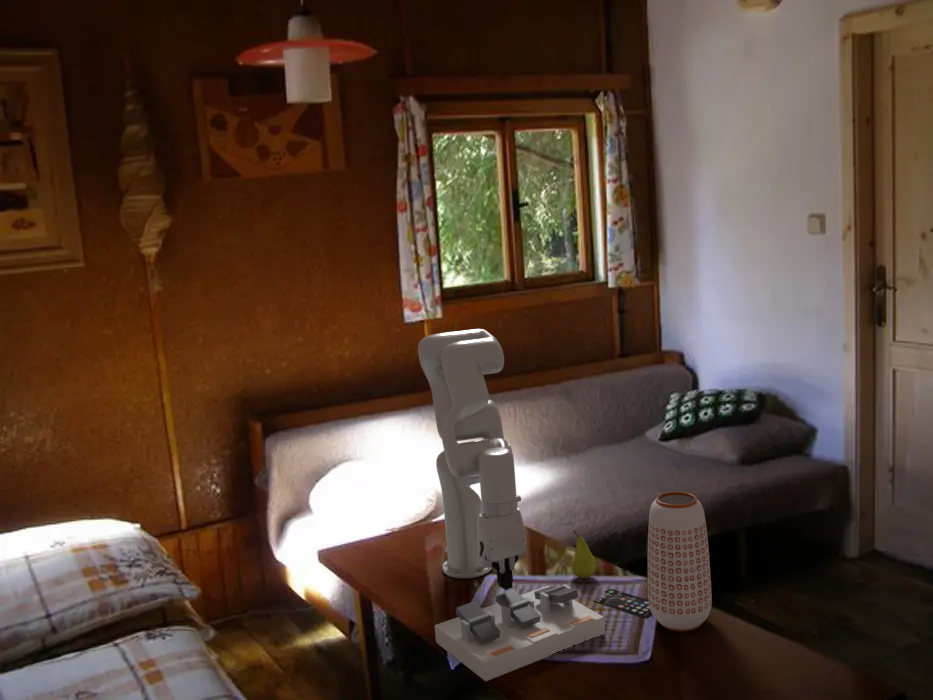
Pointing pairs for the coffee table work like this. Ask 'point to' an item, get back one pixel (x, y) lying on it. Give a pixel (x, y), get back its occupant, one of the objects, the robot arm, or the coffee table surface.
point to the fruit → (583, 559)
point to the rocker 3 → (557, 594)
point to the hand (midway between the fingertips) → (505, 587)
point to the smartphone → (627, 603)
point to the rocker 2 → (518, 608)
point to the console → (520, 635)
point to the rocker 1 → (478, 622)
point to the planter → (678, 562)
